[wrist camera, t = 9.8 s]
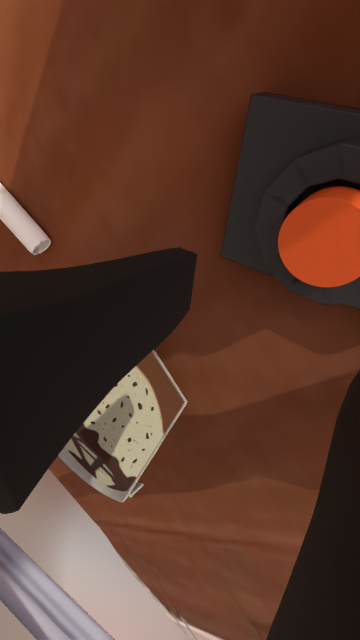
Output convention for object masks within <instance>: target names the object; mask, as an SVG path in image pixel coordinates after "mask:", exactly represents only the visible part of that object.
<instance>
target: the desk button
mask: <svg viewBox="0 0 360 640" xmlns="http://www.w3.org/2000/svg"><path fill="white" fill-rule="evenodd" d="M278 249H279V254H280V257H281V259H282V261H283V263H284V265H285V266H286V268H287V269H288V270H289V272H290V273H292V274H293V275H294V276H295V277H296V278H298V279H299V280H301V281H303V282H305V283H307V284H310V285H313V286H317V287H337V286H341V285H345V284H347V283H350V282H352V281H354V280H356V279H357V278H358V277H360V190H358V189H355V188H352V187H346V186H332V187H327V188H324V189H321V190H318V191H316V192H314V193H313V194H311V195H309V196H308V197H307V198H306V199H305V200H303V201H302V202H301V203H300V204H299V205H298V206H297V207H296V208H295V209H293V210H292V211H291V212H290V213H289V215H288V216H287V217H286V218H285V220H284V222H283V224H282V226H281V228H280V231H279V236H278Z"/></svg>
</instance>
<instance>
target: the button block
mask: <svg viewBox="0 0 360 640" xmlns="http://www.w3.org/2000/svg"><path fill="white" fill-rule="evenodd" d="M332 186H346V187H352V188H355V189H358V190H360V109H356V108H351V107H345V106H339V105H334V104H328V103H322V102H317V101H311V100H305V99H300V98H294V97H288V96H283V95H277V94H271V93H266V92H263V93H256V94H252V95H251V99H250V104H249V109H248V114H247V120H246V125H245V130H244V135H243V141H242V146H241V151H240V156H239V162H238V167H237V172H236V177H235V183H234V188H233V193H232V198H231V204H230V209H229V214H228V219H227V225H226V230H225V235H224V240H223V246H222V251H221V257H224V258H227V259H229V260H232V261H235V262H237V263H240V264H242V265H245V266H248V267H250V268H253V269H255V270H258V271H261V272H263V273H266V274H268V275H271V276H274V277H276V278H278V279H279V281H280V282H281V283H282V284H283V285H284V286H285V287H286V288H287V289H288V290H289V291H290V292H293V293H296V294H298V295H301V296H303V297H306V298H308V299H311V300H313V301H316V302H318V303H321V304H325V305H330V304H346V305H349V306H352V307H354V308H357V309H359V310H360V277H358V278H357V279H356V280H354V281H352V282H350V283H347V284H345V285H341V286H337V287H317V286H313V285H310V284H307V283H305V282H303V281H301V280H299V279H298V278H296V277H295V276H294V275H293V274H292V273H290V272H289V270H288V269H287V268H286V266H285V265H284V263H283V261H282V259H281V257H280V254H279V249H278V236H279V231H280V228H281V226H282V224H283V222H284V220H285V218H286V217H287V216H288V215H289V213H290V212H291V211H292V210H293V209H295V208H296V207H297V206H298V205H299V204H300V203H301V202H302V201H303V200H305V199H306V198H307V197H308V196H309V195H311V194H313V193H314V192H316V191H318V190H321V189H324V188H327V187H332Z"/></svg>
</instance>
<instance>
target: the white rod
mask: <svg viewBox="0 0 360 640" xmlns="http://www.w3.org/2000/svg"><path fill="white" fill-rule="evenodd" d="M0 219H1V220H2V222H3V223H4V224H5V225H6V226H7V227H8V228H9V229H10V230H11V231H12V233H13V234H14V235H15V236H16V237H17V238H18V239H19V240H20V242H21V243H22V244H23V245H24V246H25V247H26V248H27V250H28V251H30V252H31V253H32V254H33V255H37V254H38V253H39V254H40V253H42V252H43V251H45V250H46V249H47V248H48V247H49V246H50V244H51V240H50V239H49V237H48V236H47V234H45V232H44V231H43V230H42V229H41V228H40V227H39V226H38V224H37V223H36V222H35V221H34V220H33V219H32V218H31V217H30V215H29V214H28V213H27V212H26V211H25V210H24V209H23V208H22V206H21V205H20V204H19V203H18V202H17V201H16V200H15V199H14V197H13V196H12V195H11V194H10V193H9V192H8V191H7V190H6V188H5V187H4V186H3V185H2V184H1V183H0Z"/></svg>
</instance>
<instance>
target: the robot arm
mask: <svg viewBox="0 0 360 640" xmlns="http://www.w3.org/2000/svg"><path fill="white" fill-rule="evenodd" d="M196 259H197V254H195V253H193V252H190V251H187V250H185V249H182V248H180V247H179V248H170V249H164V250H159V251H154V252H149V253H145V254H140V255H136V256H131V257H126V258H122V259H117V260H111V261H106V262H100V263H95V264H89V265H83V266H77V267H69V268H61V269H50V270H39V271H14V272H0V513H1V514H7V513H13V512H16V511H18V510H19V509H20V508H21V506H22V505H23V503H24V502H25V500H26V499H27V497H28V496H29V495H30V493H31V492H32V490H33V489H34V488H35V486H36V485H37V483H38V482H39V481H40V479H41V478H42V476H43V475H44V473H45V472H46V471H47V469H48V468H49V467H50V465H51V464H52V463H53V461H54V460H55V459H56V457H57V456H58V455H59V453H60V452H61V451H62V450H63V448H64V447H65V446H66V444H67V443H68V442H69V440H70V439H71V438H72V437H73V435H74V434H75V433H76V432H77V430H78V429H79V428H80V427H81V425H82V424H83V423H84V422H85V421H86V419H87V418H88V417H89V416H90V414H91V413H92V412H93V411H94V410H95V408H96V407H97V406H98V405H99V404H100V403H101V402H102V400H103V399H104V398H105V397H106V396H107V395H108V393H109V392H110V391H111V390H112V389H113V388H114V387H115V386H116V385H117V384H118V383H119V382H120V381H121V380H122V379H123V378H124V377H125V376H126V375H127V374H128V373H129V372H130V371H131V370H132V369H133V368H134V367H135V366H137V365H138V364H139V363H140V362H141V361H142V360H143V359H144V358H145V357H146V356H147V355H148V354H150V353H151V352H152V351H153V350H154V349H155V348H156V347H157V346H158V345H159V344H160V343H161V342H162V341H163V340H164V339H165V338H166V337H168V336H169V335H170V334H171V333H172V331H173V330H174V329H175V328H176V326H177V325H178V324H179V323H180V322H181V320H182V319H183V318H184V316H185V315H186V314H187V312H188V311H189V309H190V302H191V295H192V288H193V281H194V273H195V266H196ZM0 600H1V601H2V602H3V603H4V605H5V606H6V607H7V608H8V609H9V610H10V611H11V612H12V613H13V614H14V615H15V617H17V619H18V620H19V621H20V622H21V623H22V624H23V625H24V626H25V627H26V628H27V630H28V631H29V632H30V633H31V634H32V635H33V636H34V637H35V638H36V639H37V640H115V639H114V638H112V636H111V635H109V634H108V633H107V632H106V631H105V630H104V629H103V628H102V627H101V626H100V625H99V624H98V623H97V622H96V621H95V620H94V619H93V618H92V617H91V616H90V615H89V614H88V613H87V612H86V611H85V610H84V609H83V608H82V607H81V606H79V604H78V603H76V601H74V600H73V599H72V598H71V597H70V596H69V595H68V594H67V593H66V592H65V591H64V590H63V589H62V588H61V587H60V586H59V585H58V584H57V583H56V582H55V581H54V580H53V579H52V578H51V577H50V576H49V575H48V574H47V573H46V572H45V571H44V570H43V569H42V568H41V567H39V566H38V565H37V564H36V563H35V562H34V561H33V560H32V559H31V558H30V557H29V556H28V555H27V554H26V553H25V552H24V551H23V550H22V549H21V548H20V547H19V546H18V545H17V544H16V543H15V542H14V541H13V540H12V539H11V538H10V537H8V535H6V533H5V532H3V531H2V530H1V529H0ZM266 640H360V370H359V371H358V373H357V375H356V376H355V378H354V379H353V381H352V382H351V384H350V386H349V388H348V391H347V393H346V396H345V399H344V401H343V404H342V406H341V409H340V411H339V414H338V417H337V420H336V424H335V428H334V433H333V437H332V441H331V445H330V449H329V453H328V458H327V462H326V466H325V470H324V475H323V479H322V483H321V487H320V491H319V496H318V499H317V503H316V506H315V510H314V513H313V516H312V519H311V522H310V524H309V527H308V530H307V533H306V535H305V538H304V541H303V544H302V547H301V549H300V552H299V555H298V558H297V560H296V563H295V566H294V568H293V571H292V574H291V576H290V579H289V582H288V584H287V587H286V590H285V592H284V595H283V598H282V600H281V603H280V605H279V608H278V611H277V613H276V616H275V618H274V621H273V624H272V626H271V629H270V631H269V634H268V636H267V639H266Z"/></svg>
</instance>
